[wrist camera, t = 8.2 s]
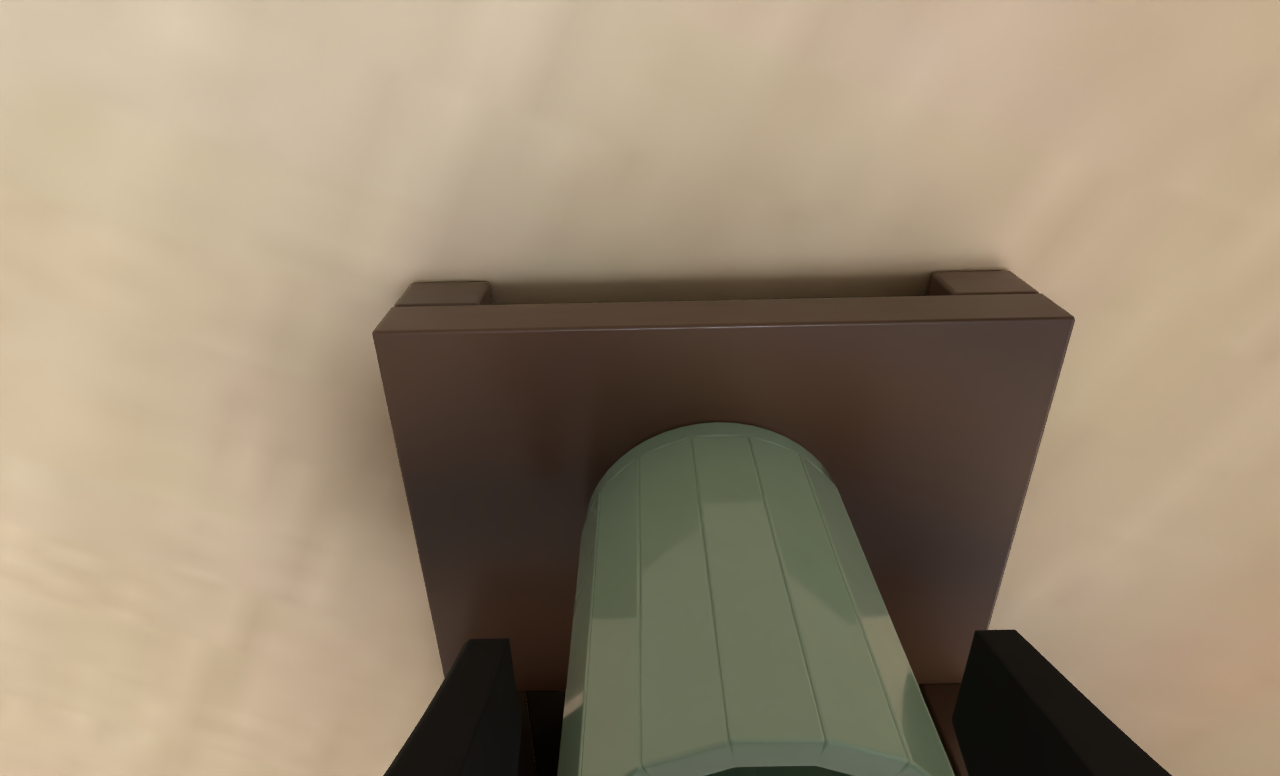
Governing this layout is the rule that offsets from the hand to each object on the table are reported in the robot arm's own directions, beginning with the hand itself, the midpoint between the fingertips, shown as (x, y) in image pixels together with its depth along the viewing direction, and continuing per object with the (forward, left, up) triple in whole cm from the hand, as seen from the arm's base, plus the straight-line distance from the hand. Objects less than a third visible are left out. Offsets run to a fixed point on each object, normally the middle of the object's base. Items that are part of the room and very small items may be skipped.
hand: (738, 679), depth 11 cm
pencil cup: (0, 0, -4) cm, 4 cm away
